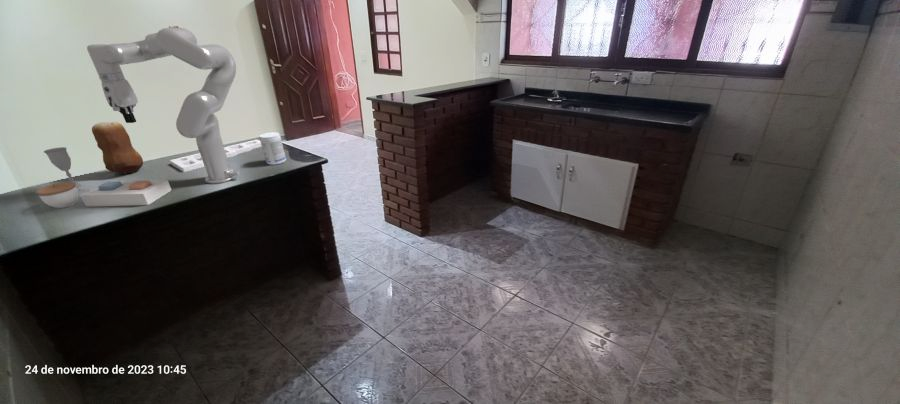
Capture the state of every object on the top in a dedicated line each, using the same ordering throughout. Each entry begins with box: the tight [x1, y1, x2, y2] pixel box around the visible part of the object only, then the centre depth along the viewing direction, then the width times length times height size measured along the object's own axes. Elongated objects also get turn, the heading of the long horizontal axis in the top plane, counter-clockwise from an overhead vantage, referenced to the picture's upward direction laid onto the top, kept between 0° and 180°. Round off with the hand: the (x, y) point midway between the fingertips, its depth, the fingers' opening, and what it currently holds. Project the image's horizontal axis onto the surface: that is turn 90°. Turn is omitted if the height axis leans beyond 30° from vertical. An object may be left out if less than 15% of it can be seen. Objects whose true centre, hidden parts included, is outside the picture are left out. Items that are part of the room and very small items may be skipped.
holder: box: [169, 139, 262, 173], centre depth 192 cm, size 45×18×3 cm, turn 142°
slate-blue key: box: [97, 180, 122, 191], centre depth 144 cm, size 5×5×3 cm
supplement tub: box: [259, 131, 287, 166], centre depth 180 cm, size 10×10×15 cm
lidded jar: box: [36, 181, 80, 209], centre depth 139 cm, size 11×11×9 cm
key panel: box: [80, 179, 172, 207], centre depth 145 cm, size 24×14×5 cm, turn 92°
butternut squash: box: [91, 121, 144, 175], centre depth 166 cm, size 14×13×25 cm
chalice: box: [43, 146, 85, 191], centre depth 151 cm, size 7×7×18 cm
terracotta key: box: [129, 181, 152, 190], centre depth 144 cm, size 5×5×3 cm
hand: (131, 122), depth 151 cm, fingers closed
